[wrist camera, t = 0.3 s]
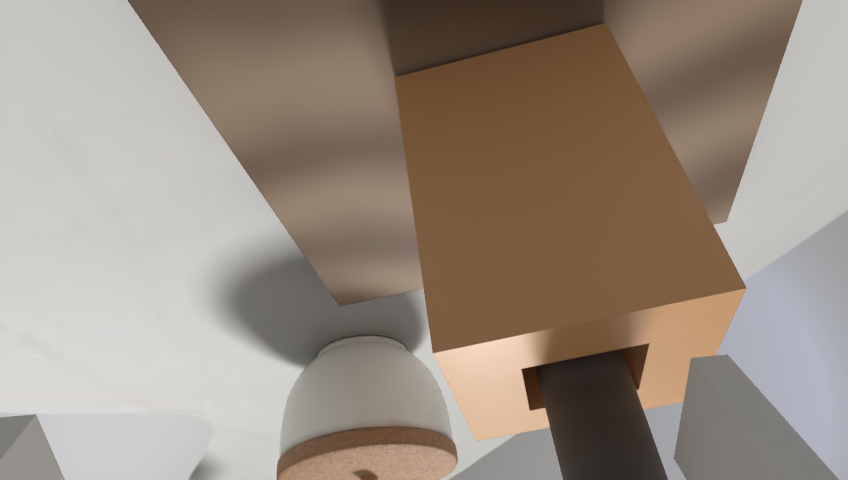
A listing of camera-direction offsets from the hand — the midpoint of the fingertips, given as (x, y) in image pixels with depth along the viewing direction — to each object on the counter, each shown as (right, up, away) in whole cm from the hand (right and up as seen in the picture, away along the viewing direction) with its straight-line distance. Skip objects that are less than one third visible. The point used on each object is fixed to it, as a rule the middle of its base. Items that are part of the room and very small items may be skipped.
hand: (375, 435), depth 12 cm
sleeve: (+4, +8, +10) cm, 13 cm away
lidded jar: (-3, -4, +27) cm, 28 cm away
